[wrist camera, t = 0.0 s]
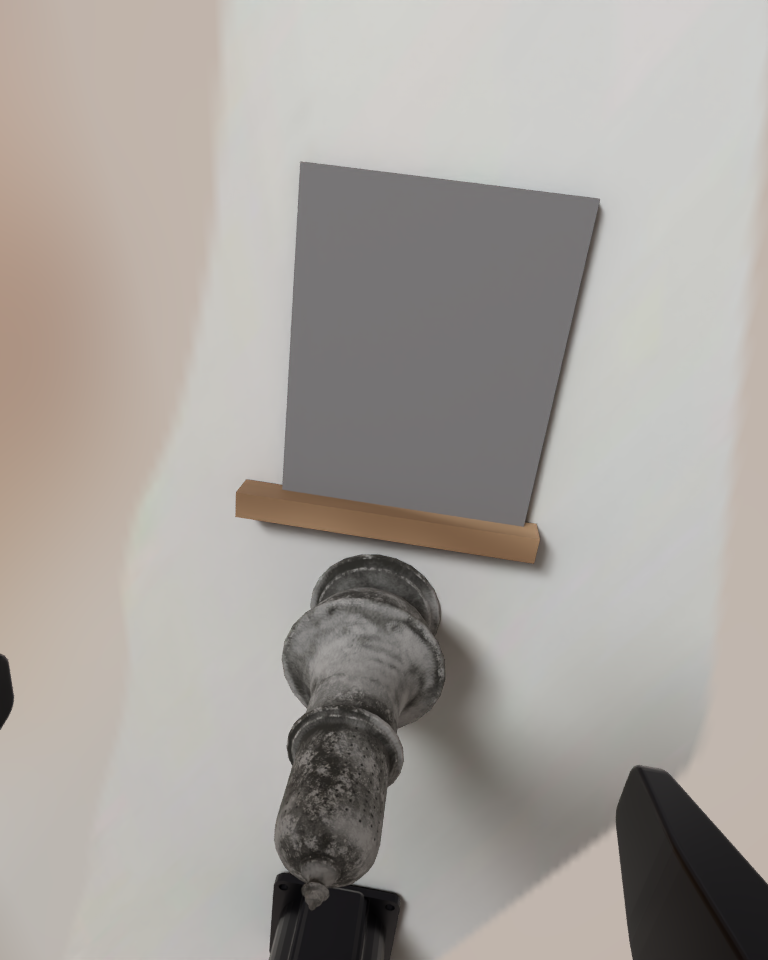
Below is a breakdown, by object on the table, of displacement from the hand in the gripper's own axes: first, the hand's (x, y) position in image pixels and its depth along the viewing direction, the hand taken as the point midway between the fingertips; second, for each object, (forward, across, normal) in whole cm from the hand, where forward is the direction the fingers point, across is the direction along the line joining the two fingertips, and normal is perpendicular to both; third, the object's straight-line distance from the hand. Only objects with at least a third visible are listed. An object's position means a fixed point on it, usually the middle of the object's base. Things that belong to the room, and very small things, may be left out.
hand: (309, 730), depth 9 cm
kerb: (+15, 0, +4) cm, 15 cm away
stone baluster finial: (+15, 0, +8) cm, 17 cm away
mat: (+15, 0, -2) cm, 15 cm away
